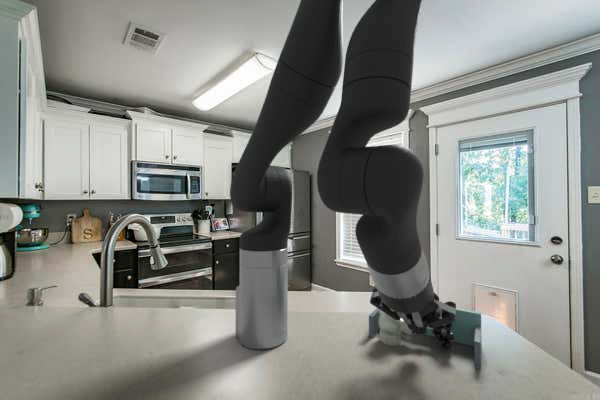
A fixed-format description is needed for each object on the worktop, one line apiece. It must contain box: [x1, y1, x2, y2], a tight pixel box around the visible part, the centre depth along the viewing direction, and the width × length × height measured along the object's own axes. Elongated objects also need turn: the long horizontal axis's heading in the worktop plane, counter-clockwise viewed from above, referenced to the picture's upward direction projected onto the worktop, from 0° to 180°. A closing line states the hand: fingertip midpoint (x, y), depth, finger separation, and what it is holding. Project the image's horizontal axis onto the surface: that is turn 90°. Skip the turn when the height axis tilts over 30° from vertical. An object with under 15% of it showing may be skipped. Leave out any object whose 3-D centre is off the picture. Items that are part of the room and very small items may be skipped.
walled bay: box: [368, 307, 483, 369], centre depth 50 cm, size 18×8×6 cm, turn 55°
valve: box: [378, 309, 454, 350], centre depth 49 cm, size 7×7×12 cm
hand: (418, 329), depth 47 cm, fingers closed
